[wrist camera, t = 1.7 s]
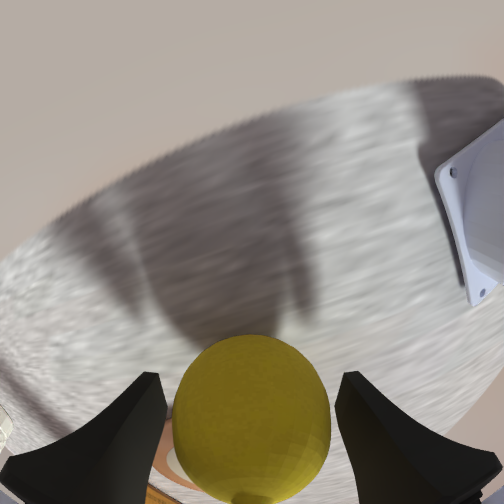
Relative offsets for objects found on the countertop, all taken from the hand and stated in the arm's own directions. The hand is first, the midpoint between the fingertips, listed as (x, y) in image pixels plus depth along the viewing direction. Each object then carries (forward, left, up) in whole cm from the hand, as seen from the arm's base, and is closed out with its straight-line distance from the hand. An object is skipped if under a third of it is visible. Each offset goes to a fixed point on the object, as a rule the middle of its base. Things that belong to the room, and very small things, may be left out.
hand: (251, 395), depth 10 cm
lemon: (0, 0, -3) cm, 3 cm away
